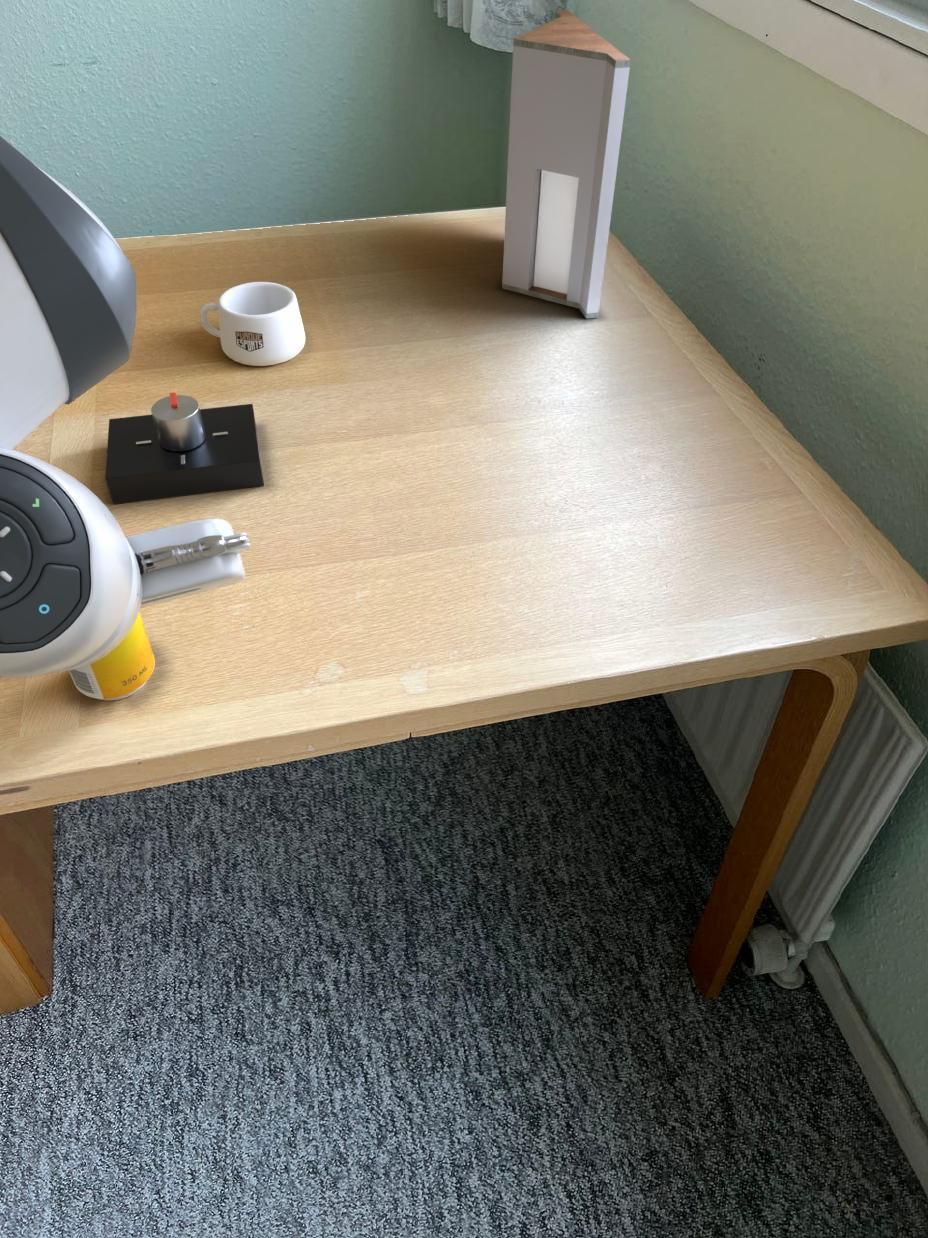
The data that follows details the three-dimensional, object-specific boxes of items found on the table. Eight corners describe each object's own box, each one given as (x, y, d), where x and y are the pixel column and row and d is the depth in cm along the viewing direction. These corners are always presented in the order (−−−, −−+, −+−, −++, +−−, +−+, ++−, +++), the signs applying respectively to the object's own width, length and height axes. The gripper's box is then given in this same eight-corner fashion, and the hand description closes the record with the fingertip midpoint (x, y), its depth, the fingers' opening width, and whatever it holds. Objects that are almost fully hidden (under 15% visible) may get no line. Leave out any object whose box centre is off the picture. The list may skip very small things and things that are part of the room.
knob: (208, 447, 88) (200, 413, 85) (160, 455, 87) (151, 420, 84) (203, 422, 91) (195, 388, 88) (157, 429, 90) (148, 395, 87)
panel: (113, 504, 86) (104, 477, 84) (116, 444, 93) (108, 417, 91) (264, 485, 89) (259, 458, 86) (256, 428, 96) (252, 401, 93)
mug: (315, 330, 110) (310, 282, 106) (294, 372, 103) (288, 322, 99) (217, 322, 111) (208, 274, 107) (191, 363, 104) (180, 313, 100)
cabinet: (598, 317, 114) (630, 59, 94) (523, 324, 112) (540, 64, 92) (548, 246, 128) (567, 10, 108) (481, 252, 126) (488, 13, 106)
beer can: (172, 658, 73) (126, 508, 62) (128, 715, 69) (71, 565, 58) (106, 639, 74) (50, 489, 63) (59, 693, 70) (-9, 543, 59)
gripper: (236, 477, 49) (226, 514, 62) (-197, 575, 43) (-106, 593, 56) (269, 592, 49) (252, 604, 62) (-157, 704, 43) (-76, 691, 57)
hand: (79, 599), depth 59 cm, fingers open, 8 cm apart
